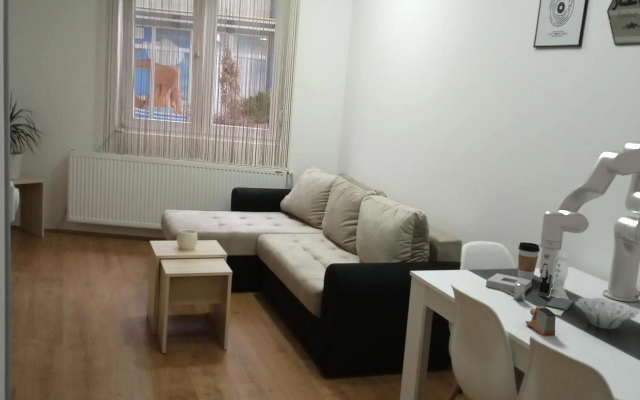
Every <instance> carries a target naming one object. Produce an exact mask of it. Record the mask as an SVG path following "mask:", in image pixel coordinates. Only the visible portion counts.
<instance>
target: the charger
mask: <svg viewBox="0 0 640 400" xmlns="http://www.w3.org/2000/svg"><path fill="white" fill-rule="evenodd" d="M546 274H547V273H546ZM541 275H542V274H540V276H539V283H538V289H537V290H538V291H537V296H541V297H545V298H547V297H546V296H549V295H550V291H551V288H552V289H553V283H554V276H551V275H550V277H549V291H548V293H542V292H539V288H540V281H541ZM547 275H548V274H547ZM546 277H548V276H546Z"/></svg>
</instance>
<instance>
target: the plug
mask: <svg viewBox="0 0 640 400" xmlns="http://www.w3.org/2000/svg"><path fill="white" fill-rule="evenodd" d="M525 289H526V285H525V284H523V283H516V284H515V292H513V294H514V297H513V301H515V302H519V303H523V302H524V301H525V295H526V291H525Z"/></svg>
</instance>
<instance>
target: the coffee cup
mask: <svg viewBox="0 0 640 400" xmlns="http://www.w3.org/2000/svg"><path fill="white" fill-rule="evenodd" d="M539 252H540V244H536V243H534V242H523V241H521V242H519V245H518V261H517V262H518V265H517V266H518V267H517V268H518V269H517V271H518V273H517V277H519V278H523V279H528V280H532V279H534V276H535V271H536V266H537V263H538V262H537V261H538V257H539V256H538V255H539ZM532 281H533V280H532Z"/></svg>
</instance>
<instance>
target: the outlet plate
mask: <svg viewBox="0 0 640 400" xmlns="http://www.w3.org/2000/svg"><path fill="white" fill-rule="evenodd" d="M516 283H523V284H525V285H526V289H525V292H527V291H528V290H529V289H530V288H531V287H532V283H533V280H528V279H523V278H518V276H513V275H506V274H502V273H497V272H496V273H495V274H494V275H492V276H490V277H489V278H487V279H486V283H485V287H488V288H492V289H496V290H501V291H502V289H505V290H507V291H509V292H511V293H514V292H515V284H516Z"/></svg>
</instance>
